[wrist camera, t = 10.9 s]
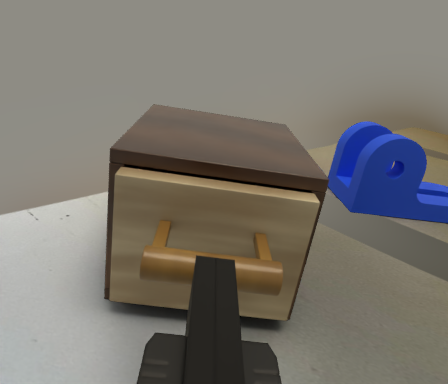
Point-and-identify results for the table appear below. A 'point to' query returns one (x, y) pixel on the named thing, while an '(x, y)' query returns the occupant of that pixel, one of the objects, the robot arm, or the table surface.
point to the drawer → (207, 238)
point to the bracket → (385, 175)
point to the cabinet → (214, 156)
